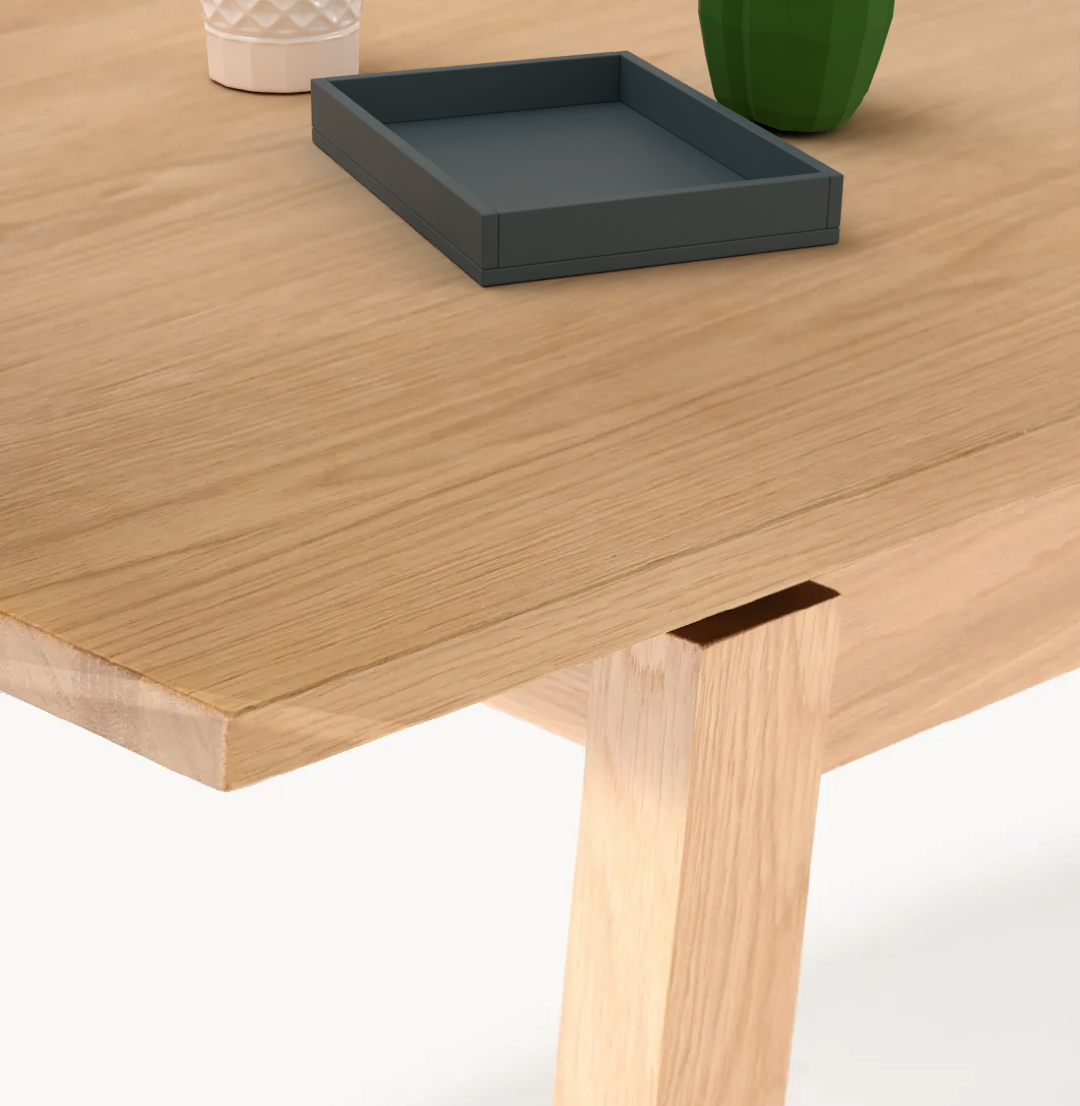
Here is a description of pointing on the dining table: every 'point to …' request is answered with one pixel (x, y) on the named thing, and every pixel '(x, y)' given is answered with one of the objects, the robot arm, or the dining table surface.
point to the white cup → (280, 42)
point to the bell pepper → (793, 57)
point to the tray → (571, 166)
